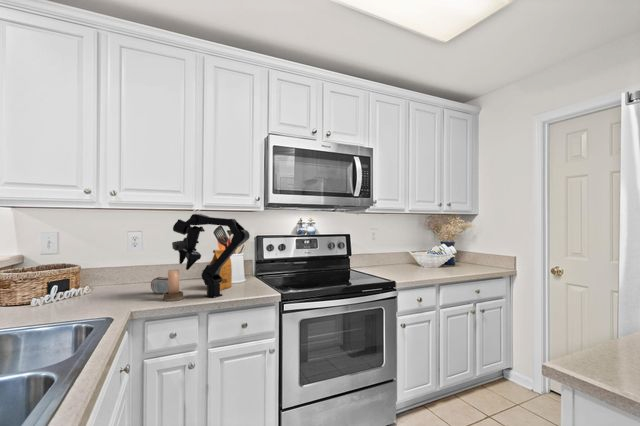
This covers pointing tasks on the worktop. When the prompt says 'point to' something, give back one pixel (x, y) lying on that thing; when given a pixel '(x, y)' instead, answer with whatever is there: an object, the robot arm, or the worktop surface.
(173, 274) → the canister
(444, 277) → the worktop surface
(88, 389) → the worktop surface
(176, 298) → the holder
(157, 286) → the tin
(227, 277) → the coffee package
